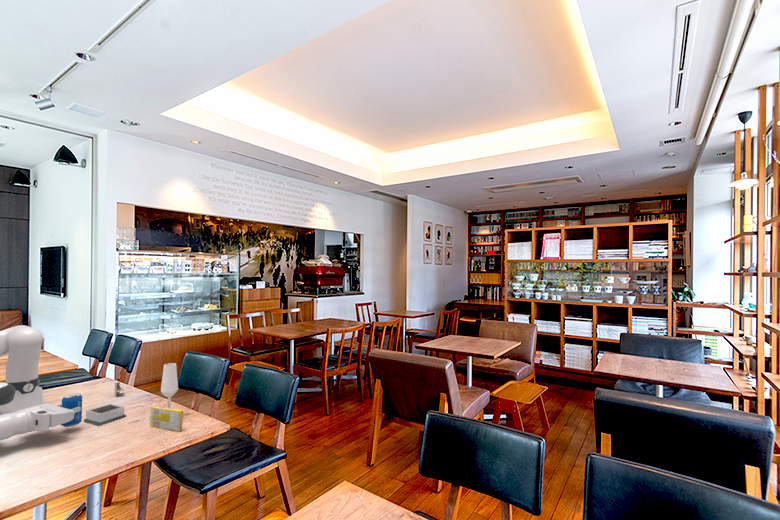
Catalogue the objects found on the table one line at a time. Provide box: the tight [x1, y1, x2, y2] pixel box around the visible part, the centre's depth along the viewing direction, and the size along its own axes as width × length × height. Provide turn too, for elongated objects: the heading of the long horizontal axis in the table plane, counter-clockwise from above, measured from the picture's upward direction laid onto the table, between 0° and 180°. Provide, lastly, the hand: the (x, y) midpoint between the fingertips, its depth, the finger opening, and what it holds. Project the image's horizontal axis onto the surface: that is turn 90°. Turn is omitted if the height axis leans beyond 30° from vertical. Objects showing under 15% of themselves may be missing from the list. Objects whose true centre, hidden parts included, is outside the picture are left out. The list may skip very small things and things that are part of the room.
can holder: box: [83, 403, 127, 427], centre depth 169 cm, size 11×11×4 cm
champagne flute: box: [160, 362, 179, 409], centre depth 170 cm, size 7×7×24 cm
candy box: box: [149, 405, 184, 432], centre depth 160 cm, size 16×2×8 cm, turn 71°
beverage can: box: [60, 392, 83, 428], centre depth 157 cm, size 6×6×12 cm
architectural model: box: [114, 381, 125, 397], centre depth 201 cm, size 3×7×7 cm, turn 41°
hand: (74, 407), depth 158 cm, fingers closed on beverage can, 6 cm apart
